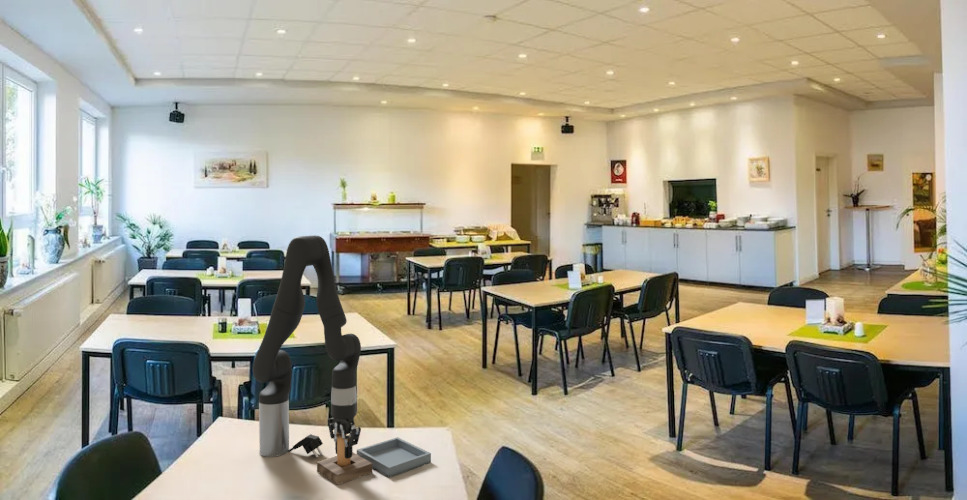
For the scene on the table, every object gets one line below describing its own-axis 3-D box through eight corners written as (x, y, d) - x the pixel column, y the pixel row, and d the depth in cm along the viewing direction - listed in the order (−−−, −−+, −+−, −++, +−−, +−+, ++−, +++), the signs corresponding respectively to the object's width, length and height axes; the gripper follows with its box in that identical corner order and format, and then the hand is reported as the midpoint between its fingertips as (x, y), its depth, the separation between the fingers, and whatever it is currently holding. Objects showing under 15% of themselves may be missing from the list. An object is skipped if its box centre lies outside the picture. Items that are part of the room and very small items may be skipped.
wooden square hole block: (317, 471, 186) (317, 461, 185) (351, 460, 194) (351, 451, 194) (337, 484, 177) (337, 474, 177) (372, 472, 185) (372, 463, 185)
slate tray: (356, 458, 195) (356, 449, 195) (397, 445, 206) (397, 437, 206) (389, 477, 182) (389, 467, 182) (430, 462, 193) (430, 453, 193)
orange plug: (334, 469, 185) (334, 436, 184) (345, 464, 188) (345, 433, 187) (342, 472, 182) (342, 440, 182) (353, 468, 185) (353, 436, 185)
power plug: (292, 446, 203) (318, 428, 200) (304, 465, 202) (330, 448, 199) (282, 452, 197) (309, 435, 194) (294, 472, 197) (321, 455, 194)
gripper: (319, 398, 185) (319, 452, 187) (348, 408, 176) (348, 466, 177) (339, 392, 191) (339, 445, 192) (368, 402, 182) (368, 458, 183)
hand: (343, 455), depth 185 cm, fingers closed on orange plug, 4 cm apart
